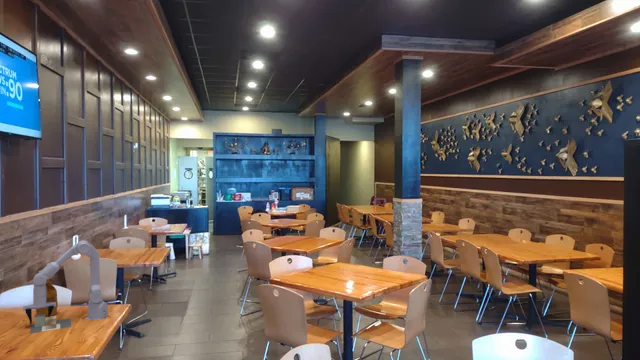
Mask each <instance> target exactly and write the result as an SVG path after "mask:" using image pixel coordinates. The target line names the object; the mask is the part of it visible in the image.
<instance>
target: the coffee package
mask: <svg viewBox="0 0 640 360" xmlns="http://www.w3.org/2000/svg"><path fill="white" fill-rule="evenodd" d="M49 302H56V307H54V309H53V311H52V313H51V315H50V317H52V316H57V314H58V312H57V310H58V305H59V304H58V291H57V289H56V287H55V286H54V284H52V278H51V277H50V278H49V279H47V281H46V303H49ZM35 314H36V315H41V314H45V318H46V317H48V307H45V308H38V309H35Z"/></svg>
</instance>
